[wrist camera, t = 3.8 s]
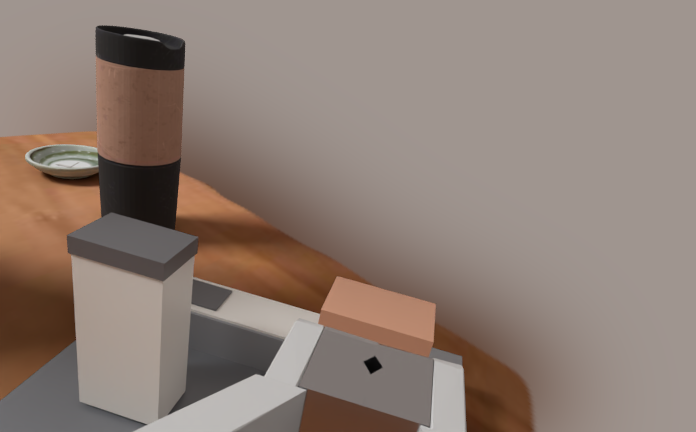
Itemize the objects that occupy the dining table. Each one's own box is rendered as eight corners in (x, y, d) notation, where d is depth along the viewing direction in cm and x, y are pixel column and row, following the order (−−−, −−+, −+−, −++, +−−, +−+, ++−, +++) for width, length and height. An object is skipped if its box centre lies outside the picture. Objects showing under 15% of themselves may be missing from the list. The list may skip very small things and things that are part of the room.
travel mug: (101, 213, 51) (96, 22, 43) (174, 213, 54) (182, 36, 46) (97, 247, 45) (90, 30, 37) (180, 245, 48) (190, 46, 40)
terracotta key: (379, 504, 25) (433, 342, 20) (287, 473, 25) (321, 309, 21) (387, 455, 27) (435, 303, 23) (304, 428, 28) (337, 276, 24)
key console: (-52, 466, 24) (-68, 396, 22) (139, 303, 38) (140, 253, 36) (440, 649, 21) (472, 587, 19) (445, 396, 35) (463, 347, 33)
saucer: (119, 163, 65) (118, 147, 64) (106, 190, 57) (105, 171, 56) (40, 157, 62) (39, 139, 61) (14, 183, 54) (12, 164, 53)
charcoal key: (158, 429, 26) (164, 263, 22) (76, 402, 27) (66, 235, 22) (187, 390, 29) (198, 236, 25) (113, 366, 30) (111, 212, 25)
